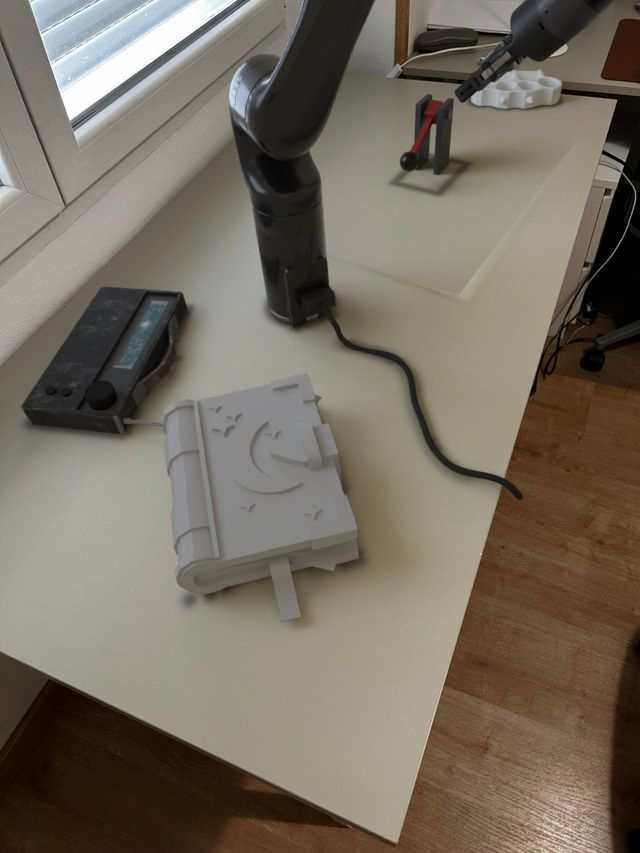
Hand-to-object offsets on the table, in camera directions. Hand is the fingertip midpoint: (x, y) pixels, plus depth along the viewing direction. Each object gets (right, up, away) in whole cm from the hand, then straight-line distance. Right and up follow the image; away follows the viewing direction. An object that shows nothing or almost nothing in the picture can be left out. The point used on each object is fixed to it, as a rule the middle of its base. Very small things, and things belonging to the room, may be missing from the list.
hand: (459, 96), depth 97 cm
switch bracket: (-1, -3, +22) cm, 22 cm away
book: (-27, -59, -24) cm, 69 cm away
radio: (-46, -41, -7) cm, 62 cm away
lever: (-3, -1, +14) cm, 15 cm away
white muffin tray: (+20, +20, +40) cm, 49 cm away
